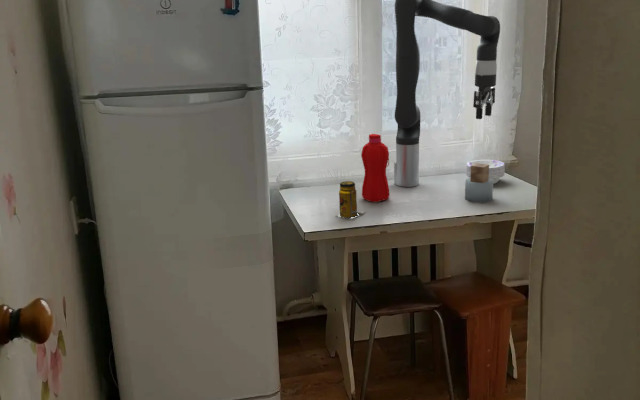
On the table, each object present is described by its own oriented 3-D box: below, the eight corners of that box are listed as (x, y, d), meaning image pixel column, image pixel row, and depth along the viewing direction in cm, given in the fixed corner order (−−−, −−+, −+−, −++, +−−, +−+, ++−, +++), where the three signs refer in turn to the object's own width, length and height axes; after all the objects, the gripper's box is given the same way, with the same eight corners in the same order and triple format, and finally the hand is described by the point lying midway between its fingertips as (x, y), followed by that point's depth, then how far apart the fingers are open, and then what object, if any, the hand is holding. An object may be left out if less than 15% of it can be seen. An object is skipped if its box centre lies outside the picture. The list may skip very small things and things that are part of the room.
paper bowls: (459, 179, 253) (459, 161, 251) (492, 176, 257) (492, 157, 254) (476, 188, 239) (477, 168, 237) (511, 184, 242) (512, 165, 240)
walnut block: (470, 181, 223) (470, 165, 221) (475, 178, 227) (476, 163, 225) (483, 183, 220) (484, 167, 218) (488, 180, 224) (489, 164, 222)
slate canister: (460, 200, 224) (460, 182, 222) (471, 194, 232) (471, 176, 230) (486, 204, 219) (487, 185, 217) (496, 197, 226) (497, 179, 224)
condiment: (334, 216, 211) (333, 183, 208) (349, 210, 218) (348, 178, 214) (351, 220, 207) (350, 186, 204) (365, 213, 213) (365, 181, 210)
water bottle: (396, 198, 229) (396, 133, 222) (372, 204, 224) (371, 137, 217) (381, 193, 237) (381, 130, 230) (358, 198, 232) (357, 134, 224)
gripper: (483, 71, 228) (481, 114, 233) (467, 74, 217) (466, 119, 222) (503, 71, 224) (500, 115, 228) (487, 75, 213) (485, 120, 218)
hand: (483, 117), depth 225 cm, fingers open, 8 cm apart
